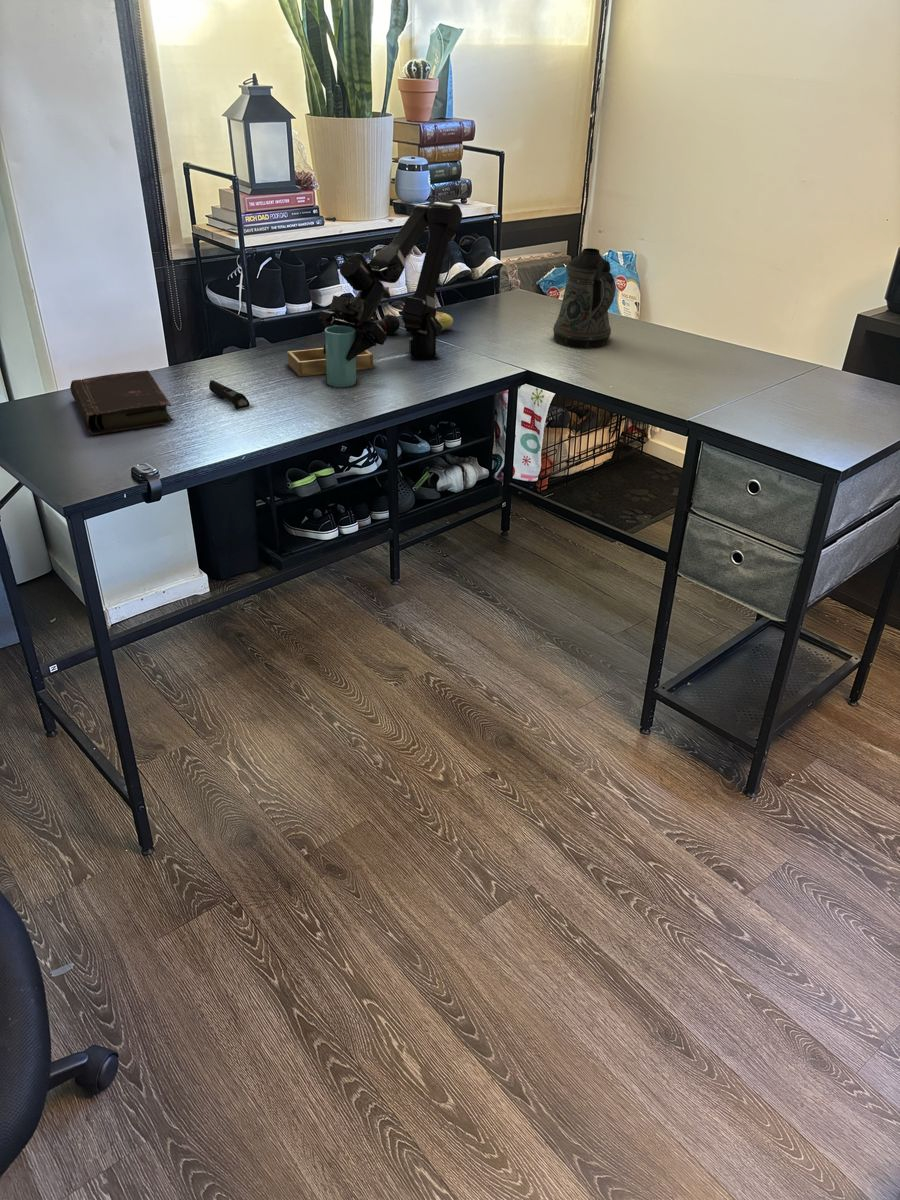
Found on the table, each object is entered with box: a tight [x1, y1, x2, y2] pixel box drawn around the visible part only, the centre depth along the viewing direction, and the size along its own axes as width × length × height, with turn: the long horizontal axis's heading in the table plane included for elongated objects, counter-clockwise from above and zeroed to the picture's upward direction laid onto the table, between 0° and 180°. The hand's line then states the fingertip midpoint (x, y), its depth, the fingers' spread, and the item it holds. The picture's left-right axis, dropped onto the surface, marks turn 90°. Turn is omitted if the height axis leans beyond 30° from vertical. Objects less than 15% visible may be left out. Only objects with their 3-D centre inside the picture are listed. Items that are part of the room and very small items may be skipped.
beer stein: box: [552, 247, 617, 349], centre depth 249 cm, size 16×19×25 cm
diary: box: [69, 369, 174, 436], centre depth 198 cm, size 19×25×5 cm
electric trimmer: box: [208, 379, 251, 410], centre depth 207 cm, size 4×16×3 cm, turn 39°
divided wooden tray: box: [287, 347, 374, 377], centre depth 230 cm, size 20×10×4 cm, turn 114°
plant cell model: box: [403, 311, 454, 331], centre depth 260 cm, size 11×8×15 cm
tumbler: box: [324, 325, 357, 388], centre depth 217 cm, size 7×7×13 cm
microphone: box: [355, 313, 401, 338], centre depth 255 cm, size 6×6×20 cm
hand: (335, 356), depth 216 cm, fingers closed on tumbler, 7 cm apart
